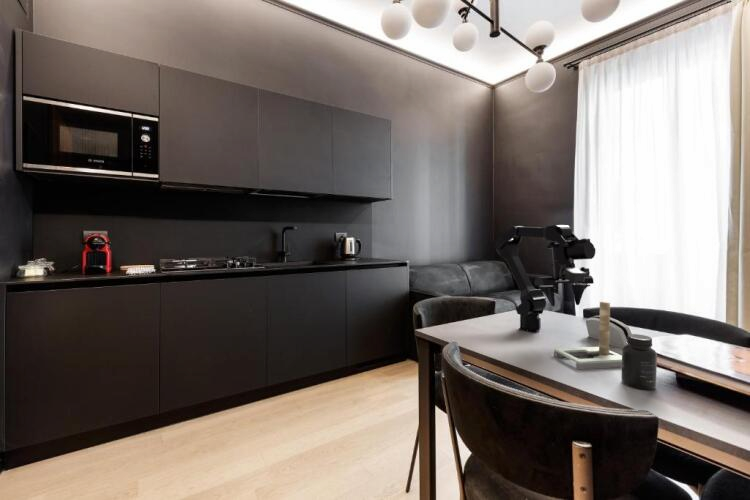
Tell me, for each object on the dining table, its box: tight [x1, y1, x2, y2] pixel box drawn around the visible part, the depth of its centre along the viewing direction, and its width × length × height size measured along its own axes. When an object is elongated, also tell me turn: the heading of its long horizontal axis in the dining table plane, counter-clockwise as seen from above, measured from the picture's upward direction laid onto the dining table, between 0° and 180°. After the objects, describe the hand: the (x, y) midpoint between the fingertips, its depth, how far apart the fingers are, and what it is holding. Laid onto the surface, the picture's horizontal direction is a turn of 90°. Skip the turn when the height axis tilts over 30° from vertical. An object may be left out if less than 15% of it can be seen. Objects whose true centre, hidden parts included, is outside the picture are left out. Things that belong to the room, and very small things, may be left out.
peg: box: [593, 301, 611, 358], centre depth 102 cm, size 5×5×17 cm
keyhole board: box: [553, 346, 622, 370], centre depth 102 cm, size 15×11×2 cm
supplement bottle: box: [620, 333, 658, 391], centre depth 85 cm, size 7×7×12 cm
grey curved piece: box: [585, 315, 633, 350], centre depth 118 cm, size 17×5×10 cm, turn 8°
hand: (565, 305), depth 121 cm, fingers open, 9 cm apart
